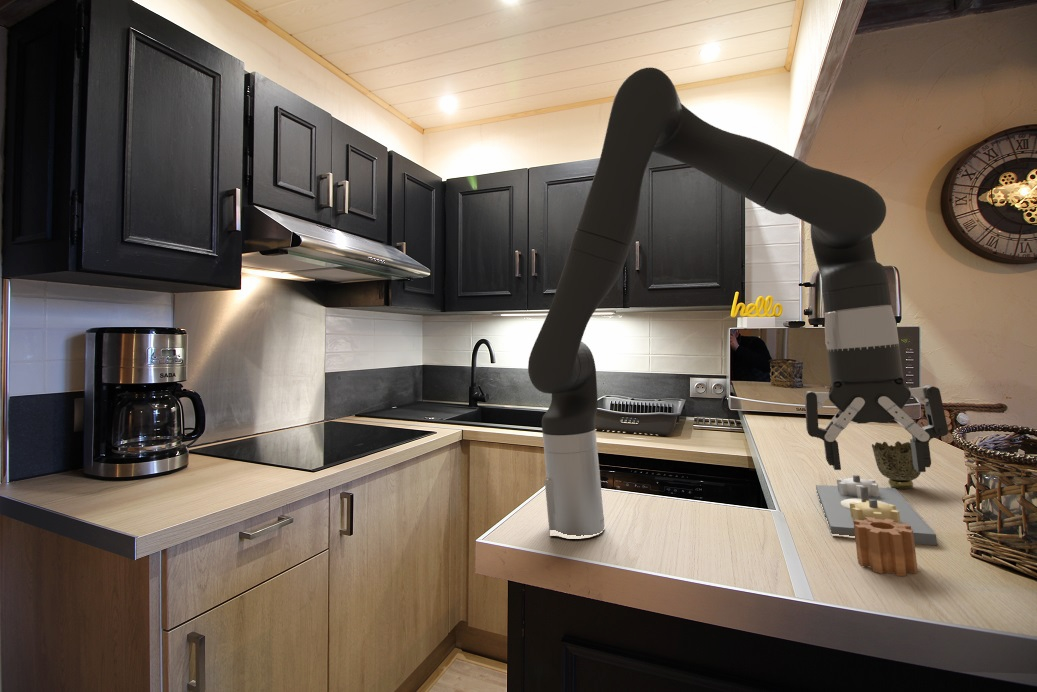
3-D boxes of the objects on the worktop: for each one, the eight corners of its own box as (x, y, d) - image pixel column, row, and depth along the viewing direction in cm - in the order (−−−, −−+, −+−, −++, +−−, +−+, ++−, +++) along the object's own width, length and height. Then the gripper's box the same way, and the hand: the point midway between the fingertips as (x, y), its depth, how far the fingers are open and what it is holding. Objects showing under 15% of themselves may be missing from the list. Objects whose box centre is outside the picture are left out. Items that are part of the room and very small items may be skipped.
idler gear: (874, 576, 56) (869, 535, 56) (848, 555, 62) (843, 517, 62) (929, 576, 55) (924, 534, 55) (897, 554, 61) (893, 516, 61)
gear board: (937, 545, 63) (933, 512, 63) (831, 536, 68) (828, 506, 68) (896, 496, 82) (893, 471, 82) (816, 492, 88) (814, 469, 88)
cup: (881, 491, 85) (876, 448, 85) (872, 481, 92) (867, 441, 92) (933, 494, 82) (928, 449, 82) (920, 482, 88) (915, 441, 88)
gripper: (799, 350, 59) (814, 475, 59) (943, 337, 53) (962, 479, 52) (795, 349, 66) (809, 462, 65) (923, 338, 59) (940, 463, 59)
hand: (877, 469), depth 59 cm, fingers open, 8 cm apart
